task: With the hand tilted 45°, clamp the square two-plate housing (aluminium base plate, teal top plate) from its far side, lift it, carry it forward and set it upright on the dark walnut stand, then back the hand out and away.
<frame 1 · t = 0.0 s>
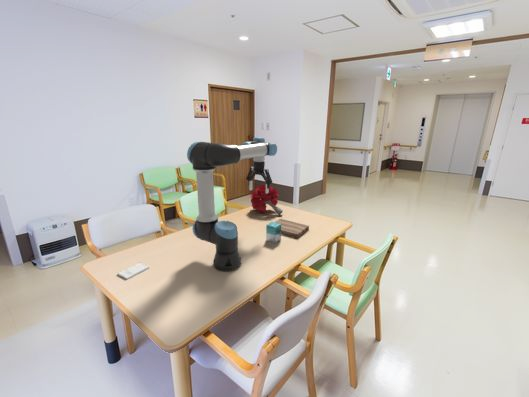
hand: (258, 191, 182), 28 cm above the table, tool pointing down, fingers open, 13 cm apart
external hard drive: (133, 272, 136), on the table
bouquet: (266, 212, 224), on the table
walnut stand: (288, 229, 189), on the table
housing: (273, 239, 174), on the table
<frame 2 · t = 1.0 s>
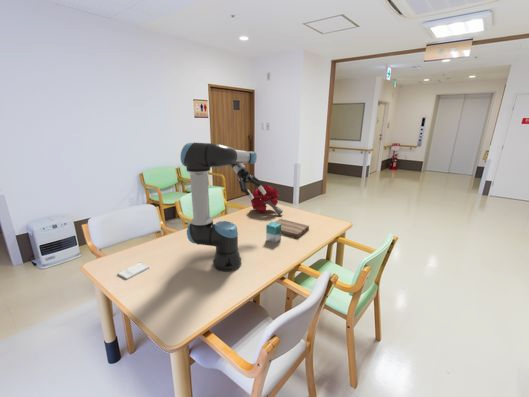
hand: (259, 196, 172), 28 cm above the table, tool tilted 45°, fingers open, 13 cm apart
nothing on the table moved.
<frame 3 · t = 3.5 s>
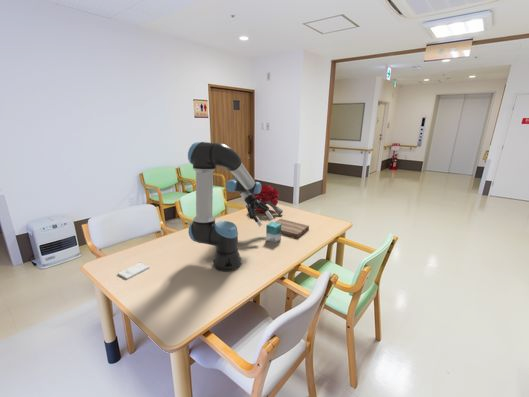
hand: (266, 222, 175), 11 cm above the table, tool tilted 45°, fingers open, 13 cm apart
nothing on the table moved.
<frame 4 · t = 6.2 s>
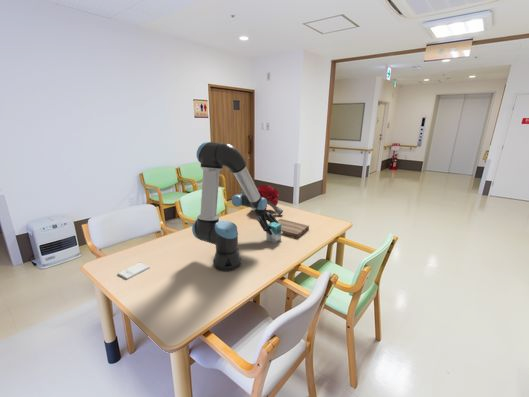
hand: (278, 236, 171), 4 cm above the table, tool tilted 45°, fingers closed on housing, 7 cm apart
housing: (273, 239, 173), on the table, touching gripper
everything else where it was.
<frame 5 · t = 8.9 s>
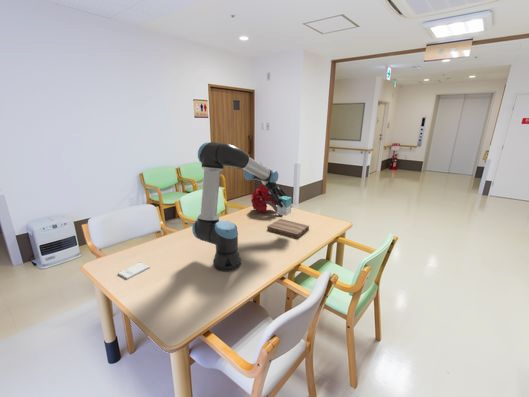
hand: (288, 209, 177), 18 cm above the table, tool tilted 45°, fingers closed on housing, 7 cm apart
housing: (284, 213, 180), point 15 cm above the table, touching gripper
everything else where it was.
when the fingers open (8 cm above the table, at t = 11.8 s): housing drops 1 cm, resting on walnut stand.
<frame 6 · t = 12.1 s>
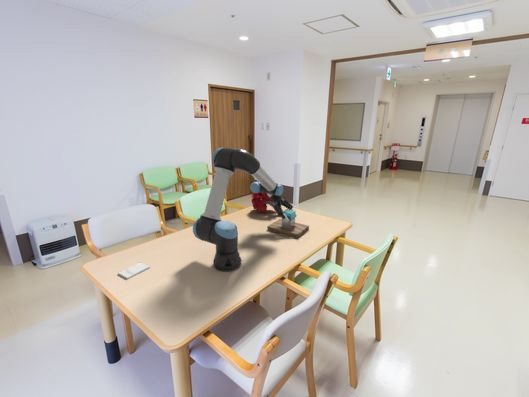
hand: (292, 219, 185), 9 cm above the table, tool tilted 45°, fingers open, 11 cm apart
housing: (288, 225, 189), point 3 cm above the table, touching walnut stand
everything else where it was.
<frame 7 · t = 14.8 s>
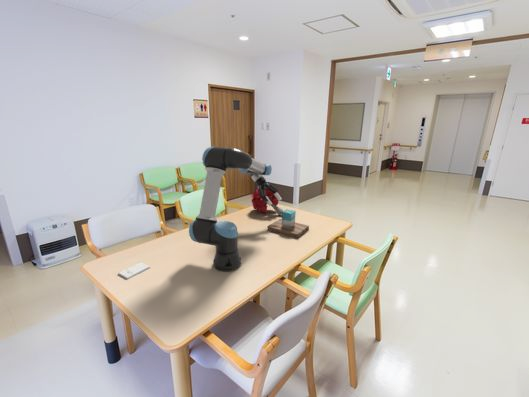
hand: (275, 202, 189), 19 cm above the table, tool tilted 45°, fingers open, 13 cm apart
nothing on the table moved.
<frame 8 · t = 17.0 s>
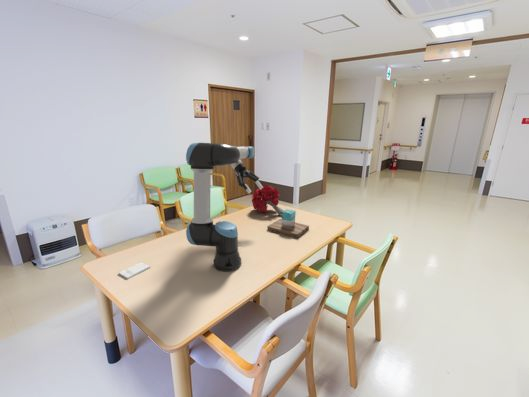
hand: (256, 190, 178), 30 cm above the table, tool tilted 45°, fingers open, 13 cm apart
nothing on the table moved.
at the end: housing inside the target area on the walnut stand (0.0 cm from its centre), point 3.0 cm above the walnut stand's base; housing tilted 0°; the gripper is holding nothing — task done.
